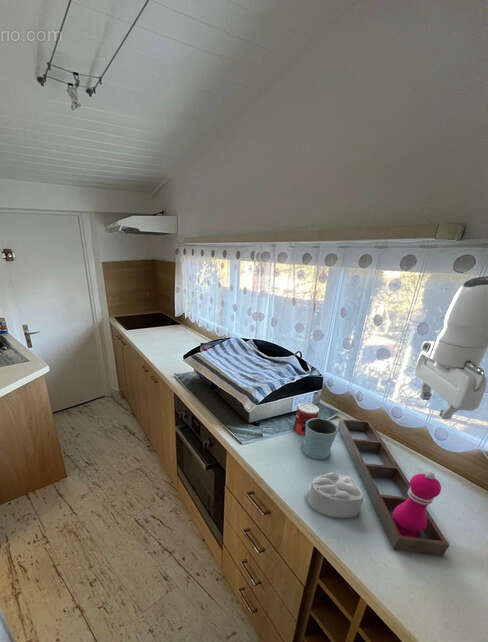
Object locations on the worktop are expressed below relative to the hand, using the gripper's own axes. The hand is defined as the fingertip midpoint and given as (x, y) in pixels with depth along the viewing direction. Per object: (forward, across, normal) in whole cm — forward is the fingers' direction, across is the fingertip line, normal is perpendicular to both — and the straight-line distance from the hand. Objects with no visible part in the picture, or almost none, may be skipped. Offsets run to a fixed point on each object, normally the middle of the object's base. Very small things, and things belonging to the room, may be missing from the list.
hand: (433, 407), depth 75 cm
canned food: (+32, +33, +20) cm, 50 cm away
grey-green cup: (+32, +19, +19) cm, 42 cm away
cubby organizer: (+32, +10, +2) cm, 33 cm away
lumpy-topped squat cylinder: (+32, -5, +19) cm, 37 cm away
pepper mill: (+32, -11, +2) cm, 34 cm away
